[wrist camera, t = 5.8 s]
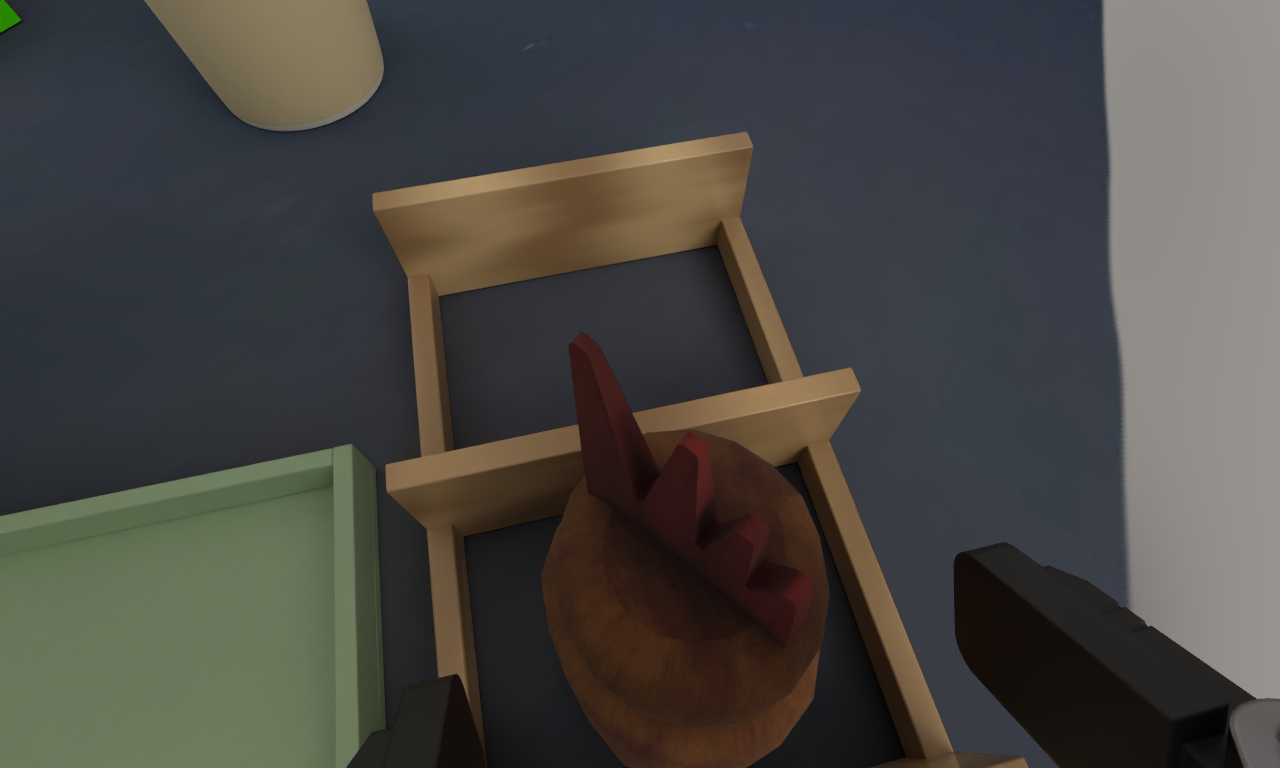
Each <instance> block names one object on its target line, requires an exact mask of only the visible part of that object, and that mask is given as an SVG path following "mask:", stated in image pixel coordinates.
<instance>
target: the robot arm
mask: <svg viewBox="0 0 1280 768" xmlns="http://www.w3.org/2000/svg"><path fill="white" fill-rule="evenodd" d="M954 609H955V635H956V640H957V644H958V647H959V650H960V652H961V654H962V657H963V659H964V660H965V662H966V664H967V666H968V667H969V668H970V670H971V671H972V672H973V674H974V675H975V676H976V677H977V678H978V679H979V680H980V681H981V682H982V684H983V685H984V686H985V687H986V688H987V689H988V690H989V691H990V692H991V693H992V694H993V695H994V697H995V698H996V699H997V700H998V701H999V702H1000V703H1001V704H1002V705H1003V706H1004V707H1005V709H1006V710H1007V711H1008V712H1009V713H1010V714H1011V715H1012V716H1013V717H1014V718H1015V719H1016V721H1017V722H1018V723H1019V724H1020V725H1021V726H1022V727H1023V728H1024V729H1025V730H1026V731H1027V733H1028V734H1029V735H1030V736H1031V737H1032V738H1033V739H1034V740H1035V741H1036V742H1037V743H1038V744H1039V746H1040V747H1041V748H1042V749H1043V750H1044V751H1045V752H1046V753H1047V754H1048V755H1049V756H1050V758H1051V759H1052V760H1053V761H1054V762H1055V763H1056V764H1057V765H1058V766H1059V767H1060V768H1280V699H1269V698H1266V699H1256V698H1255V697H1253V696H1252V695H1250V694H1249V693H1247V692H1246V691H1244V690H1243V689H1242V688H1240V687H1239V686H1237V685H1236V684H1234V683H1233V682H1232V681H1230V680H1229V679H1227V678H1226V677H1224V676H1223V675H1221V674H1220V673H1219V672H1217V671H1215V670H1214V669H1213V668H1211V667H1210V666H1209V665H1207V664H1206V663H1204V662H1203V661H1201V660H1200V659H1199V658H1197V657H1196V656H1194V655H1193V654H1191V653H1190V652H1188V651H1187V650H1186V649H1184V648H1183V647H1181V646H1180V645H1178V644H1177V643H1176V642H1174V641H1172V640H1171V639H1170V638H1168V637H1167V636H1165V635H1164V634H1163V633H1161V632H1160V631H1158V630H1157V629H1155V628H1154V627H1153V626H1149V627H1148V626H1147V625H1146V624H1145V621H1144V620H1142V619H1141V618H1140V617H1138V616H1137V615H1135V614H1134V613H1132V612H1131V611H1130V610H1128V609H1127V608H1125V607H1123V608H1121V607H1120V606H1119V603H1118V602H1117V601H1115V600H1114V599H1112V598H1111V597H1109V596H1108V595H1107V594H1105V593H1104V592H1102V591H1101V590H1099V589H1098V588H1097V587H1095V586H1094V585H1092V584H1091V583H1089V582H1088V581H1086V580H1083V579H1081V578H1078V577H1076V576H1073V575H1071V574H1069V573H1066V572H1064V571H1061V570H1059V569H1056V568H1054V567H1051V566H1046V567H1041V566H1040V565H1039V564H1037V563H1036V562H1035V561H1033V560H1032V559H1031V558H1029V557H1028V556H1026V555H1025V554H1024V553H1022V552H1021V551H1020V550H1018V549H1017V548H1015V547H1014V546H1012V545H1011V544H1008V543H1004V542H1003V543H998V544H994V545H990V546H986V547H982V548H978V549H973V550H969V551H965V552H961V553H959V554H957V556H956V557H955V560H954ZM346 768H486V762H485V756H484V752H483V748H482V745H481V742H480V738H479V735H478V732H477V729H476V725H475V722H474V719H473V715H472V712H471V709H470V705H469V702H468V699H467V696H466V692H465V689H464V686H463V683H462V680H461V678H460V676H459V675H458V674H453V675H448V676H444V677H440V678H436V679H432V680H428V681H424V682H420V683H415V684H411V685H408V686H406V687H405V688H404V690H403V693H402V696H401V700H400V703H399V707H398V711H397V715H396V718H395V722H394V726H393V727H392V728H388V729H384V730H380V731H376V732H372V733H371V734H370V735H369V737H368V738H367V739H366V741H365V742H364V743H363V745H362V746H361V748H360V749H359V750H358V752H357V753H356V754H355V756H354V757H353V759H352V760H351V761H350V763H349V764H348V765H347V767H346Z"/></svg>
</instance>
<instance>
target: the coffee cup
mask: <svg viewBox="0 0 1280 768" xmlns="http://www.w3.org/2000/svg"><path fill="white" fill-rule="evenodd" d="M144 1H145V2H146V3H147V4H148V6H149V7H150V8H151V10H152V11H153V12H154V14H155V15H156V16H157V17H158V19H159V20H160V21H161V23H162V24H163V25H164V27H165V28H166V29H167V30H168V32H169V33H170V34H171V36H172V37H173V38H174V40H175V41H176V42H177V44H178V45H179V46H180V47H181V49H182V50H183V51H184V53H185V54H186V55H187V57H188V58H189V59H190V60H191V62H192V63H193V64H194V66H195V67H196V68H197V70H198V71H199V72H200V73H201V75H202V76H203V77H204V79H205V80H206V81H207V83H208V84H209V85H210V86H211V88H212V89H213V90H214V91H215V93H216V94H217V95H218V96H219V98H220V99H221V100H222V101H223V102H224V104H225V105H226V106H227V107H228V109H229V110H230V111H231V112H232V113H233V114H234V115H236V116H237V117H238V118H240V119H241V120H242V121H244V122H246V123H248V124H250V125H252V126H255V127H258V128H262V129H267V130H273V131H299V130H306V129H311V128H316V127H320V126H323V125H326V124H330V123H332V122H334V121H337V120H339V119H341V118H343V117H345V116H347V115H349V114H351V113H352V112H354V111H356V110H357V109H358V108H360V107H361V106H362V105H364V104H365V103H366V102H367V101H368V100H369V99H370V98H371V97H372V95H373V94H374V93H375V92H376V90H377V89H378V87H379V85H380V83H381V81H382V77H383V71H384V63H383V57H382V52H381V49H380V45H379V42H378V38H377V35H376V31H375V28H374V24H373V21H372V17H371V14H370V11H369V8H368V4H367V1H366V0H144Z"/></svg>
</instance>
